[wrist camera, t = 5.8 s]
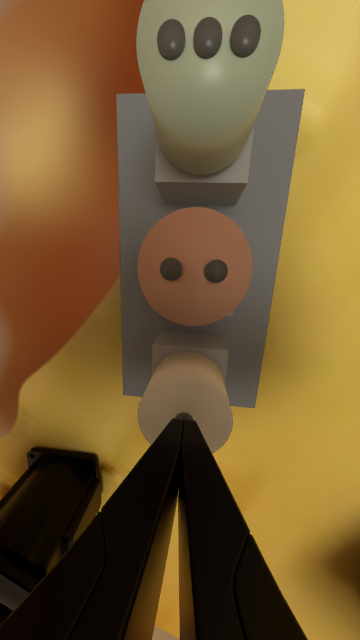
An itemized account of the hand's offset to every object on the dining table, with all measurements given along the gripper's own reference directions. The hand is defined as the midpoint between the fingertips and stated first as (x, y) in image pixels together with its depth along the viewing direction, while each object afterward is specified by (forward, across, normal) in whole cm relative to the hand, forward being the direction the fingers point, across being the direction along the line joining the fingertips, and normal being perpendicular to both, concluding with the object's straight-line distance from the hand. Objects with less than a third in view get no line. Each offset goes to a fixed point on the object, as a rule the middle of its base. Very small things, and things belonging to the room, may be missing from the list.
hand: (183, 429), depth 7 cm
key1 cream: (+5, 0, 0) cm, 5 cm away
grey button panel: (+8, 0, -6) cm, 9 cm away
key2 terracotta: (+5, 0, -5) cm, 8 cm away
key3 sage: (+5, 0, -11) cm, 12 cm away
